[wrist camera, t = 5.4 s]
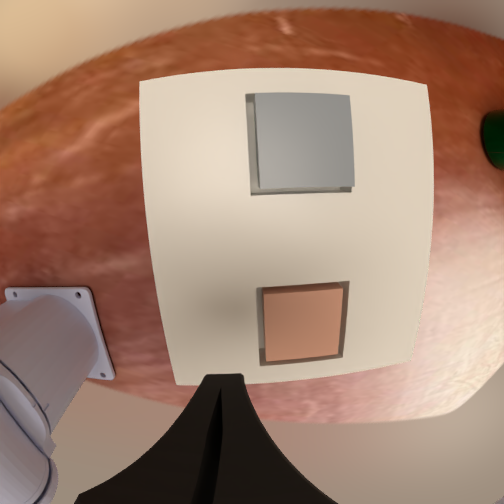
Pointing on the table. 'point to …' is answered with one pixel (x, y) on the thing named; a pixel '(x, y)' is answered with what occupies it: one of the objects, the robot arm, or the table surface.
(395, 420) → the table surface
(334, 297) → the terracotta key
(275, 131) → the slate key
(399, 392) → the table surface
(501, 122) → the soda can
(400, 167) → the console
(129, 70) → the table surface
